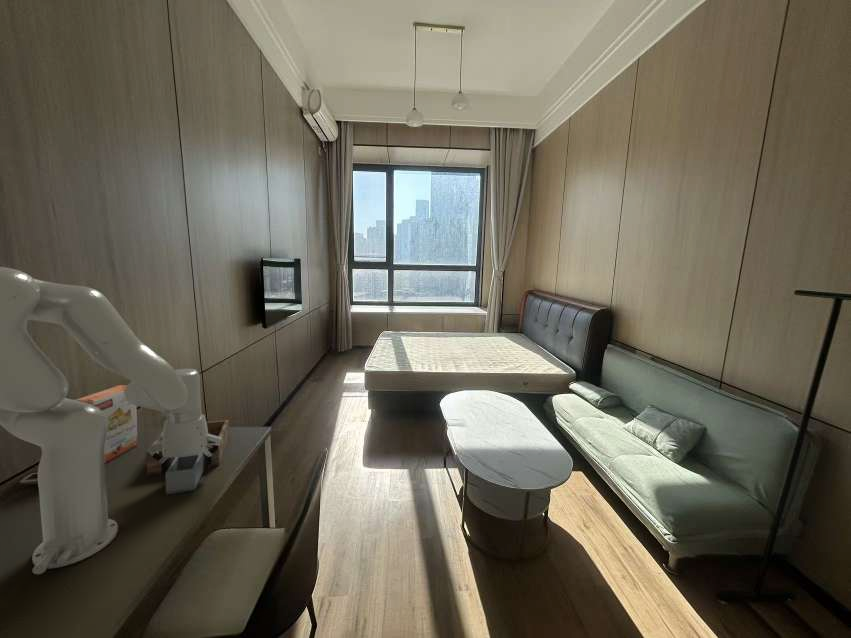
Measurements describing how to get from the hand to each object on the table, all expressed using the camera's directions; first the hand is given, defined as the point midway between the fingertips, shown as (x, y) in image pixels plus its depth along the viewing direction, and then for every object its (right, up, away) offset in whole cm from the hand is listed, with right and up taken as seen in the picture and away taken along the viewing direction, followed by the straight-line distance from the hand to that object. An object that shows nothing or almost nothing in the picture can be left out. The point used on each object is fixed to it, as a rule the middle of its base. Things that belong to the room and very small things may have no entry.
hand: (188, 470), depth 93 cm
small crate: (0, -3, 0) cm, 3 cm away
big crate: (-8, -1, +13) cm, 16 cm away
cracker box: (-32, 0, +10) cm, 33 cm away
